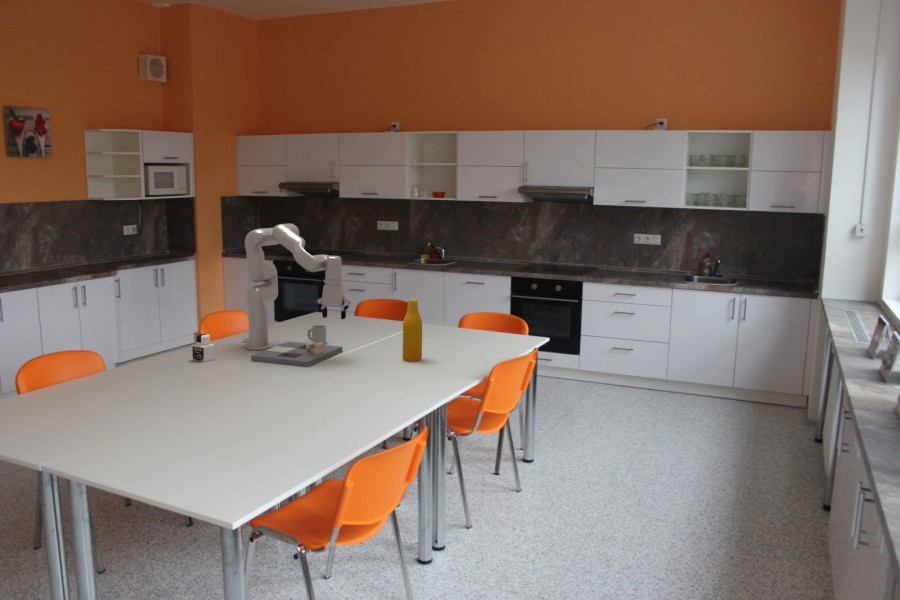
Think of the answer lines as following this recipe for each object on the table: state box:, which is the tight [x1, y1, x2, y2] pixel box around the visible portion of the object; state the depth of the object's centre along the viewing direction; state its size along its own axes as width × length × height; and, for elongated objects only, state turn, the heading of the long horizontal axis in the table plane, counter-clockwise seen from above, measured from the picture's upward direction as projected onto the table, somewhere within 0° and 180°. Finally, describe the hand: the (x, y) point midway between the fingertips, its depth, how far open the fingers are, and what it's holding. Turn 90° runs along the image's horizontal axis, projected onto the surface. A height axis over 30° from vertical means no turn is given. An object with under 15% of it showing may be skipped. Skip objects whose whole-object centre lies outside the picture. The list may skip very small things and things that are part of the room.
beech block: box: [306, 341, 324, 355], centre depth 366 cm, size 6×6×4 cm
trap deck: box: [250, 341, 343, 368], centre depth 370 cm, size 30×34×2 cm
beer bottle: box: [402, 298, 423, 363], centre depth 365 cm, size 9×9×29 cm
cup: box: [306, 324, 327, 345], centre depth 398 cm, size 7×10×9 cm
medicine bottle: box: [191, 333, 216, 363], centre depth 358 cm, size 7×7×12 cm
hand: (334, 318), depth 363 cm, fingers open, 9 cm apart
